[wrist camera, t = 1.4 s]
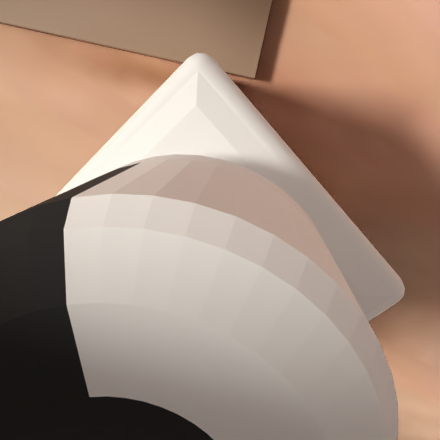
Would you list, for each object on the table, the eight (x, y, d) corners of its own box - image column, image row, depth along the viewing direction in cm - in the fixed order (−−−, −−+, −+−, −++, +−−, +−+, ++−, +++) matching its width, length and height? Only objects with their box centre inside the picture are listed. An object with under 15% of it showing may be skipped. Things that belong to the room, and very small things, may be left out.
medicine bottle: (213, 309, 17) (135, 748, 5) (100, 196, 15) (-317, 444, 4) (340, 211, 15) (643, 553, 3) (224, 74, 14) (94, -98, 2)
